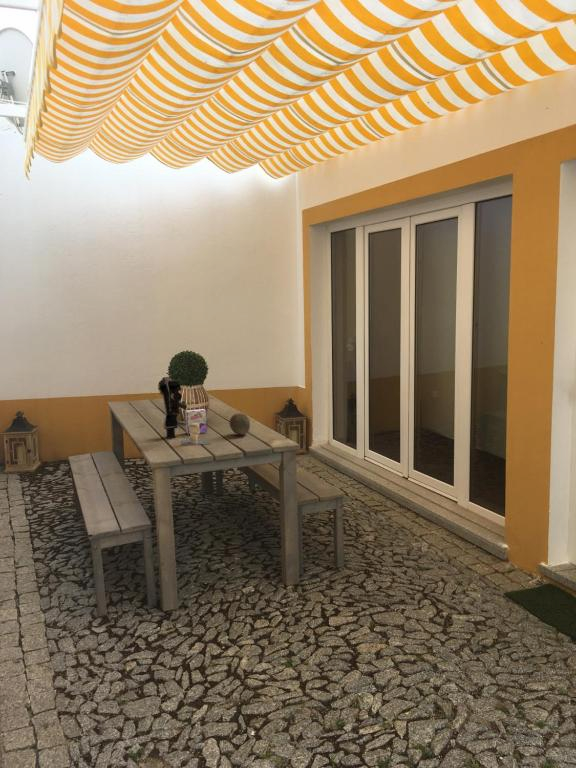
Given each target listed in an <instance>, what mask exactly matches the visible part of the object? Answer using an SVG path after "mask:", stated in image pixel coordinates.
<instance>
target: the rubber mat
mask: <svg viewBox="0 0 576 768" xmlns="http://www.w3.org/2000/svg"><path fill="white" fill-rule="evenodd" d="M201 440H202V442H201ZM181 444H182V447H186V446H187V445H190V446H202V445H201V444H205V445H211V441H210V439H209V438H200V442H198V443H190V439H187V440H186V439H184V440H183V439H182V440H181ZM187 447H188V446H187Z"/></svg>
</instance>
